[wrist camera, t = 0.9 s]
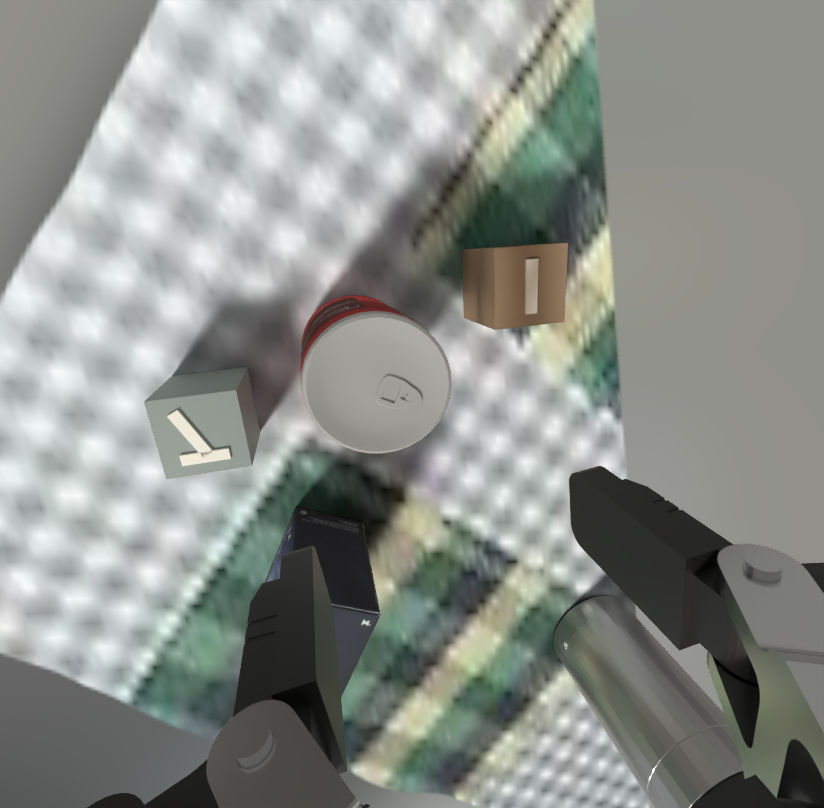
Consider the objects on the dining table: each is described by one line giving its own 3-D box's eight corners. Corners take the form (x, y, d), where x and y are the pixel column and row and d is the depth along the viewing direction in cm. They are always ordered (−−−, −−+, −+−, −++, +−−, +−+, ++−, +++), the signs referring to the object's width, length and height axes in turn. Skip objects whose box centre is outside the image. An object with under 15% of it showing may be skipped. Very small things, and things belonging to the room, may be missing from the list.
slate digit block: (247, 366, 32) (235, 390, 26) (260, 430, 33) (251, 466, 28) (172, 375, 31) (143, 402, 25) (189, 440, 32) (165, 480, 27)
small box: (291, 502, 36) (287, 594, 26) (365, 520, 38) (387, 611, 28) (250, 607, 38) (232, 727, 28) (322, 618, 40) (329, 734, 30)
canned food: (402, 398, 35) (442, 456, 25) (298, 392, 33) (296, 454, 23) (414, 300, 33) (464, 320, 23) (303, 288, 31) (304, 304, 21)
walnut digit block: (524, 244, 33) (569, 242, 28) (523, 311, 35) (565, 322, 29) (461, 249, 32) (495, 248, 27) (463, 317, 34) (495, 330, 28)
